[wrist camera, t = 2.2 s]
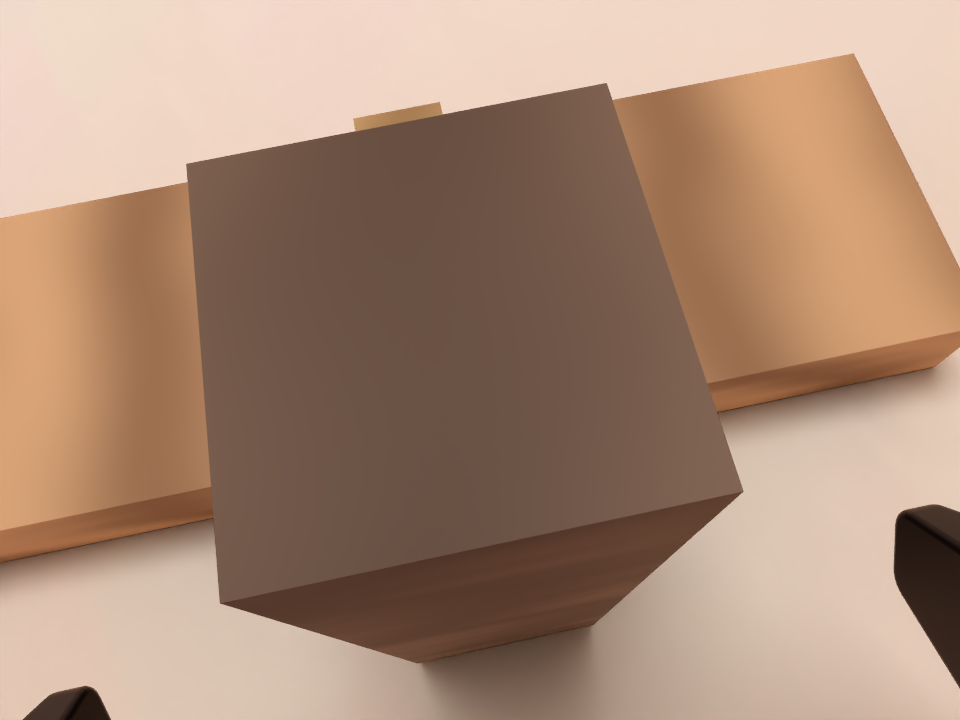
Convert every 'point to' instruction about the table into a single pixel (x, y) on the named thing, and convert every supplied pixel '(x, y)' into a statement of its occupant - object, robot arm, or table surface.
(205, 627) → the table surface
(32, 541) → the oak board
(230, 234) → the brown wooden block
